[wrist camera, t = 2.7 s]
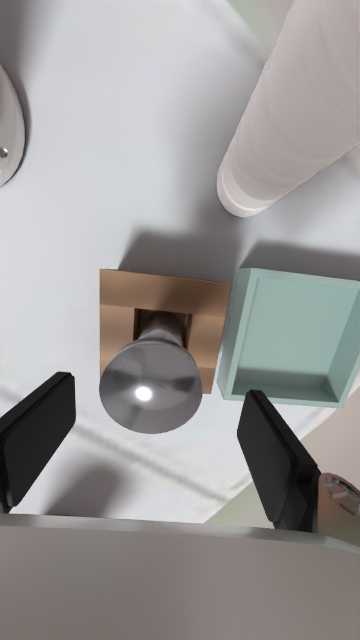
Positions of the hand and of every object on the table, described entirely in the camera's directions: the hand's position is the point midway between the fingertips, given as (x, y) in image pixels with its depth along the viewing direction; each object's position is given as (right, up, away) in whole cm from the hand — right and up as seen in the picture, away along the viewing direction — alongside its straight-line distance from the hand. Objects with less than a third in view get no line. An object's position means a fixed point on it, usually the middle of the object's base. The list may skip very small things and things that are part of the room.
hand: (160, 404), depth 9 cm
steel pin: (-1, +4, +12) cm, 12 cm away
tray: (+15, +2, +14) cm, 21 cm away
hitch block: (-1, +4, +13) cm, 13 cm away
